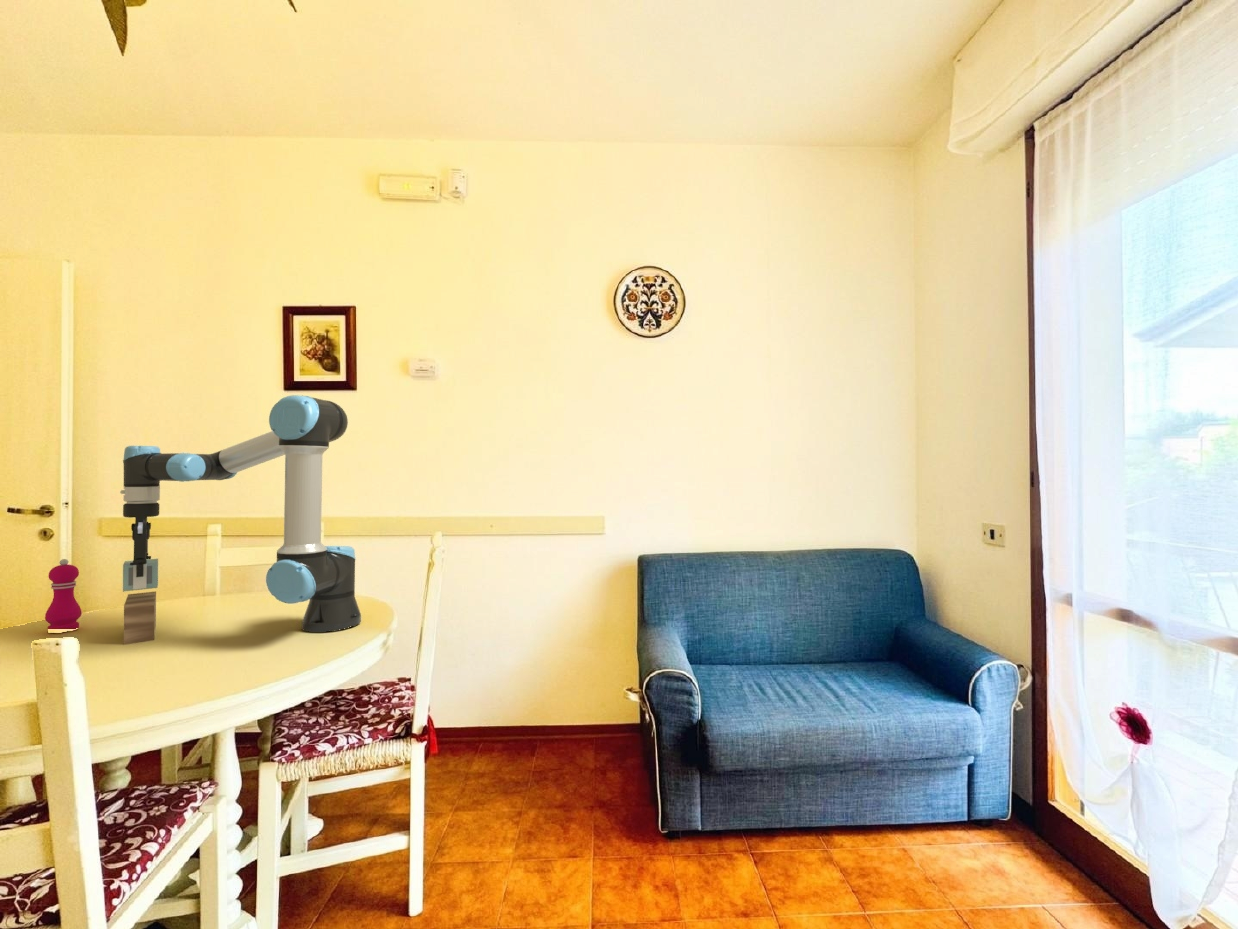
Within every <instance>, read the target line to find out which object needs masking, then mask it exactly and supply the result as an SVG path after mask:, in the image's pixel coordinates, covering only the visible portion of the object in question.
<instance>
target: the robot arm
mask: <svg viewBox="0 0 1238 929" xmlns="http://www.w3.org/2000/svg"><path fill="white" fill-rule="evenodd" d="M348 421H349V420H348V415H347V414H346V411H345V410H344V408H343V407H341V406H340V405H339V404H338V403H336V402H333V401H330V400H326V399H325V400H324V399H321V398H316V397H312V396H310V395H309V396H308V395H298V394H297V395H293V394H292V395H287V396H285V397H284V396H283V397H282V398H281V399H279V400H278V402H275V404H274V405H273V406H272V408H271V410H270V412H269V418H268V423H269V427H270V429H271V431H268V432H266V433H264V434H260V435H258V436H255V437H253V438H250V439H248V440H245V441H243V442H240V443H237V444H235V445H232V446H229V447H227V448H223V449H221V450H219V451H216V452H213V453H189V452H187V453H186V452H180V453H173V452H172V453H171V452H170V453H168V452H167V453H162V452H161V448H160V447H159V446H154V445H128V446H126V447H125V448H124V453H123V459H122V462H123V489H121V490H120V492H119V493H120V494H121V495H123V501H124V502H125V503H124V504H122V517H124V518H127V519H128V518H129V519H130V518H131V519H132V518H135V520H134V521H135V523H132V524H131V526H130V527H131V531H132V532H131V533H132V536H131V538H132V540H133V560H132V561H133V562H132V563H130V565H133V591H136V590H135V589H143V590H146V589H145V588H147V564H146V563H147V559H152V555H149V552H148V551H149V539H150V535H151V533H150V532H151V530H152V522H149V521H148V518H150V517H151V518H154V517H158V516H159V515H160V503H159V502H157V501H160V500H161V499H160V498H161V495H160V494H161V486H160V485H161V484H160V482H161V481H168V482H183V483H184V482H193V481H223V480H230V479H232V478H234V477H235V476H236V475H237V474H238V473H239V472H242V471H244V470H248V469H250V468H252V467H255V466H257V465H261V464H263V463H266V462H268V461H272V460H275V459H277V458H280V457H282V456H284V459H285V462H284V505H283V506H284V508H283V509H284V512H283V514H284V515H283V516H284V517H283V544H282V545H281V546H280V547H279V548H278V549H277V550H276V562H274V563H273V564H272V565H271V567H269V568H268V570H267V572H266V575H265V583H266V586H267V589H268V591H269V593H270V595H271V596H273V597H274V599H276V600H278V601H279V602H280V603H285V604H293V605H294V604H298V603H303V602H307V601H308V604H307V607H306V611H305V613H304V615H303V618H302V621H301V622H302V623H301V624H302V625H301V626H302V628H303V629H304V630H303V629H302V630H303V631H304V632H308V631H309V633H327V632H326V631H332V632H335V631H334V630H339V629H344V628H348V627H350V626H354V627H356V626H355V625H357V624H359V623H360V622H361V623H362V614H361V610H360V608H359V606H358V605H359V604H358V603H357V599H356V597H355V596H356V595H355V594H356V593H355V591H356V590H355V587H356V585H355V584H356V583H355V582H356V554H355V553H356V552H355V549H354V548H353V547H352V546H349V545H348V546H346V545H334V546H333V545H324V544H323V543H322V505H323V504H322V499H323V498H322V494H323V492H322V491H323V490H322V489H323V454H324V453H325V452H326V451H327V450H329V449H330V448H329V447H330V443H332V442H335V441H336V440H339V439H340V438H341V437H342V436H344V434H345V433H346V431H347V428H348V425H349V424H348V423H349V422H348ZM361 623H360V624H361ZM360 624H359V625H360ZM357 626H358V625H357ZM348 629H349V628H348ZM344 630H345V629H344ZM339 631H340V630H339Z"/></svg>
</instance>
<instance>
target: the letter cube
mask: <svg viewBox="0 0 1238 929" xmlns="http://www.w3.org/2000/svg"><path fill="white" fill-rule="evenodd" d="M146 560H147V563H146V564H147V588H145V589H135V590H133V565H130V563H132V562H133V560H125V561H124V562H123V564H122V592H131V591H132V592H133V591H142V590H143V591H144V590H151V589H152V590H153V589H157V588H158V586H159V558H151V559H146Z"/></svg>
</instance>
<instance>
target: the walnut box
mask: <svg viewBox="0 0 1238 929" xmlns="http://www.w3.org/2000/svg"><path fill="white" fill-rule="evenodd" d="M156 627H157V591H146V592H138V593H129V594H127V597H126V599H125V601H124V605H123V645H129V644H136V643H143V642H149V641H154V640H155V634H156Z"/></svg>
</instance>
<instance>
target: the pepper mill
mask: <svg viewBox="0 0 1238 929" xmlns="http://www.w3.org/2000/svg"><path fill="white" fill-rule="evenodd" d="M79 576H80V571H79V568H78V567H77V566H75V565H73V564H69V560H68V559H66V558H62V559H61V560H59V565H57V566H53V567H52V568H51V569H50V570H49V572H48V580H50V581H51V582H52V583H51V584H50V586H51V587H50V589H51V590H53V598H52V601H51V602H50V605H49V606H48V608H47V610H46V612H45V614H44V615H45V616H44V619H45V620H44V621H45V622H46V623H48V624H49V625H48V626H47V628H46V629H76V628H79V629H80V622H79V621H78V620H79V618H80V617H81V616H82V608H81V606H80V604H79V603H78V602H77V599H76V597H75V592H74V591H75V587H77V580H76V579H77V578H78V577H79Z"/></svg>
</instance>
